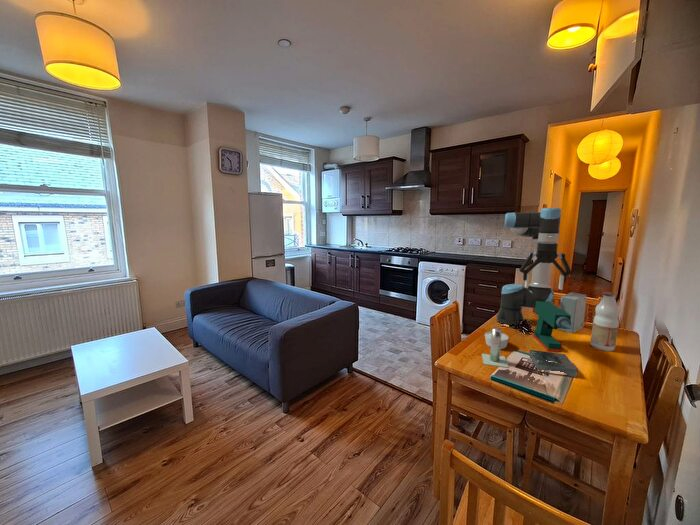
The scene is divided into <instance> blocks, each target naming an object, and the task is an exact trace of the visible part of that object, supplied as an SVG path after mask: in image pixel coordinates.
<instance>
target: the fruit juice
mask: <svg viewBox="0 0 700 525" xmlns="http://www.w3.org/2000/svg"><path fill="white" fill-rule="evenodd" d="M602 296H603V297H602V299H601V300H600V302H599V303H598V304H596V307H595V309H594V311H595V316H593V320H592V321H593V322H592V327H591V328H592V329H591V336H590V345H591V347H593V348H595V349H597V350H601V351H607V352H612V351H614V350H615V349H616V345H617V339H618V338H617V337H618V331H619V326H620V325H619V319H618V318H619V316H620V314H621V309H620V308H619V307H618V303H617V301H616V298H617V293H614V292H612V291H611V292H610V291H609V292H608V291H603V292H602Z"/></svg>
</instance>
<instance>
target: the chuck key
mask: <svg viewBox="0 0 700 525" xmlns="http://www.w3.org/2000/svg"><path fill="white" fill-rule="evenodd" d="M502 330H503V329H502V328H500V327H497V326H493V327H492V328H491V332H492V335H491V347H490V351H489V355H490V360H491V361H493V362H499V361H500V356H501V349H500V348H501V334H502V333H503V331H502Z"/></svg>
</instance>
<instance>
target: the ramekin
mask: <svg viewBox="0 0 700 525" xmlns="http://www.w3.org/2000/svg"><path fill="white" fill-rule="evenodd" d="M491 335H492V331H486V332H485V333H484V338H485V343H486V345H487V346H488V347H490V348H491ZM509 340H510V338H509V335H507V334H506V333H503V332H502V334H501V348H500V350H503V349H506V347H507V346H508V342H509Z"/></svg>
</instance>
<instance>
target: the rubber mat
mask: <svg viewBox="0 0 700 525" xmlns="http://www.w3.org/2000/svg"><path fill="white" fill-rule="evenodd" d="M481 357H482V362H483V365H485V366H493V367H500V368H506V367H509V364H508V362H507V359H506V357H505V356H504V355H500V361H499V362H493V361H491V360H490V353H489V354H487V353H481Z"/></svg>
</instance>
